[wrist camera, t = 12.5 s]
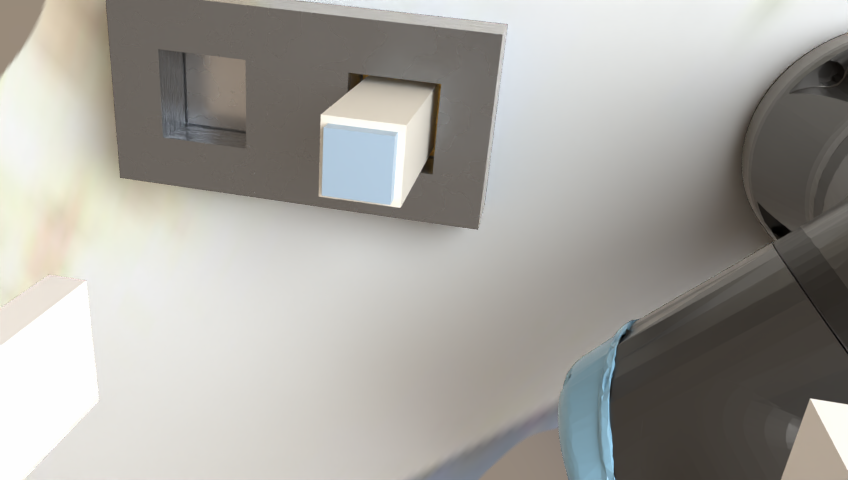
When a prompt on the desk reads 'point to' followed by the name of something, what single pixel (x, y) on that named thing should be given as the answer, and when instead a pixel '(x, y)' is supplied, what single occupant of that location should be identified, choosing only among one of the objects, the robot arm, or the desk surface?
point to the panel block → (295, 96)
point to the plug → (377, 140)
